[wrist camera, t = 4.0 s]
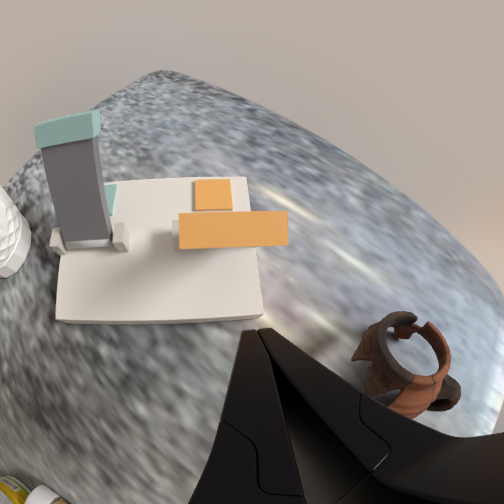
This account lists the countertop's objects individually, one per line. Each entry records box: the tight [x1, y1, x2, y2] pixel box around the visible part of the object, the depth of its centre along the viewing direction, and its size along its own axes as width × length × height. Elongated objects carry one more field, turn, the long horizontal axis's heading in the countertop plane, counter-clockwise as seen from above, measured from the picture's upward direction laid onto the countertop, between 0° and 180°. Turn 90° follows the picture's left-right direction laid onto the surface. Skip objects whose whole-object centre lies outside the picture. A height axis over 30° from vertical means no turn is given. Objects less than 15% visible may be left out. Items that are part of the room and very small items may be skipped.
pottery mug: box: [351, 311, 461, 419], centre depth 19 cm, size 12×10×8 cm
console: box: [50, 177, 264, 325], centre depth 20 cm, size 12×16×4 cm
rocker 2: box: [178, 211, 288, 249], centre depth 16 cm, size 1×4×10 cm, turn 96°
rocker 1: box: [34, 109, 114, 249], centre depth 15 cm, size 1×4×10 cm, turn 97°
